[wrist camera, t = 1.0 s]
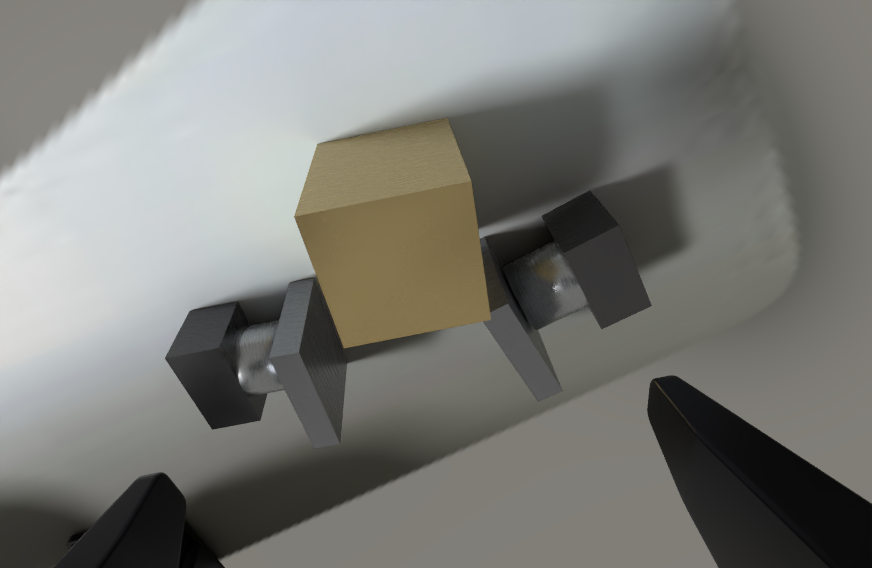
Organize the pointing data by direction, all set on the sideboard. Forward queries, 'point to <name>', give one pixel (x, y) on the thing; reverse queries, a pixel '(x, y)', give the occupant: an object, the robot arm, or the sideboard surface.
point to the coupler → (394, 233)
